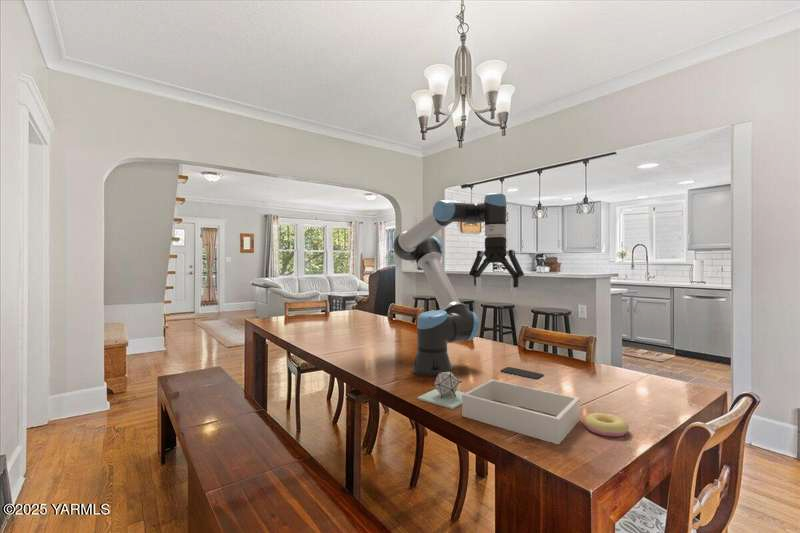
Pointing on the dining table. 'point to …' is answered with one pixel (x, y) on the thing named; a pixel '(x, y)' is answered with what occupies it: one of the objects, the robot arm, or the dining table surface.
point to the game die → (446, 383)
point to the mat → (443, 399)
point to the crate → (519, 419)
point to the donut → (606, 424)
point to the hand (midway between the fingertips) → (495, 295)
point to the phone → (522, 373)
